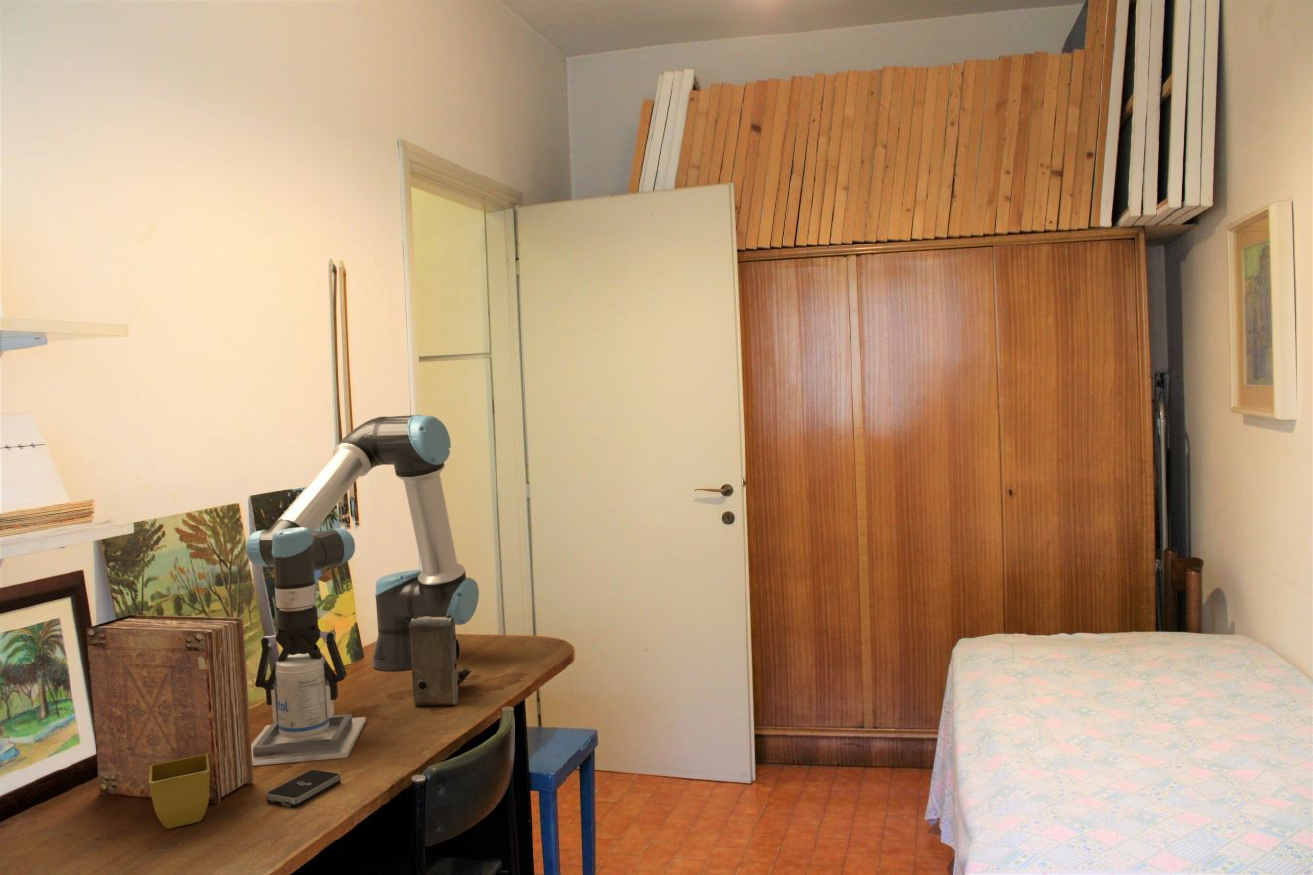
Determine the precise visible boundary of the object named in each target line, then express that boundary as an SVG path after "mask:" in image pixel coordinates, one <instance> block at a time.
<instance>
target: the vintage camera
mask: <svg viewBox="0 0 1313 875" xmlns="http://www.w3.org/2000/svg"><path fill="white" fill-rule="evenodd" d="M409 632H410V635H411V659H412V669H411V676H412V677H411V678H412V692H413V693H412V694H413V695H412V696H413V699H412V700H413V703H414V706H418V707H420V706H422V707H423V706H430V707H431V706H432V707H433V706H434V707H436V706H437V707H438V706H457V704H458V701H459V686H460V684H462V683H464V681H465V680H466V679H467V678H468V676H470V674H471V673H472V670H469V668H467V667H464V668H463V669H462V670H458V666H457V663H458V662H457V661H458V659H459V656H460V649H461V647H460V642H459V639H457V636H456V635H457V634H456V632H457V631H456V625H455V620H454V617H453V616H451V615H448V616H442V617H418V616H415V617H414V618H412V619H411V622H410V624H409Z"/></svg>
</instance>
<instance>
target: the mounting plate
mask: <svg viewBox="0 0 1313 875" xmlns="http://www.w3.org/2000/svg"><path fill="white" fill-rule="evenodd" d="M366 720H367V719H366V716H362V717H353V715H352V714H351V713H348V714H337V715H333V716H332V718H329V727H328V728H327V729H326V730H325V731H324V732H322V733H320V734H317V735H314V736H311V737H306V738H286V737H283V736H282V735H281V734H280V733H279V727H278V722H277V723H273V722H272V723H271V724H267V725H265V726H264V728H263V729H262V730H261V731H260V732H259V734H258V735H257V737H256V738H255V739H254V740H253V741H252V742H251V748H252V764H253V767H256V766H267V765H278V764H280V765H281V764H289V763H300V762H310V761H311V762H312V761H322V760H323V761H325V760H333V759H345V758H349V755H350V754H351V752H352V749H353V748H354V746H355V744H356V741H357V740H358V737H359V736H360V734H361V733H362V729H363V728H364V727H365V726H364V725H365V724H366V722H367V721H366Z"/></svg>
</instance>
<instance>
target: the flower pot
mask: <svg viewBox="0 0 1313 875" xmlns="http://www.w3.org/2000/svg"><path fill="white" fill-rule="evenodd" d="M209 783H210V767H209V758H208V754H202V755H197V756H192V757H188V758H183V759H178V760H173V761H167V762H162V763H157V764H153V765H150V773H149V786H150V791H151V796H152V799H151V800H152V805H153V809H154V812H155V814H156V817H157V819H158V820H159V822H160V823H161V824H162V826H163V827H164V828H166V829H167V830H168V829H169V830H170V829H174V828H178V827H183V826H186V825H191V824H195V823H196V824H197V823H200V822H201V821H202V820H203V819H204V816H205V814H206V811H207V809H208V805H209V804H208V801H209Z"/></svg>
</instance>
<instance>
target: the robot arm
mask: <svg viewBox="0 0 1313 875" xmlns="http://www.w3.org/2000/svg"><path fill="white" fill-rule="evenodd" d="M451 444H452V443H451V437H450V434H449V431H448V429H447V427H446V426H445V424H444V423H443V421H441V420H440V419H439V418H438V417H436V416H433V415H423V414H412V415H411V414H410V415H395V416H394V415H392V416H378V417H374V418H372V419H369V420H366V421H365V422H363V423H361V424H360V425H359V426H357V427H355V428H354V429H353V430H351V432H349V433H348V434H347V435H345V437H343V438H342V439H341V440H340V442H339V443H337V445H336V446H335V447H334V449H333V452H332V457H331V458H330V459H329V460H328V462H327V463H326V464H325V465H324V466H323V467H322V468H321V470H320V471H319V472H318V473H317V474H316V475H315V477H313V478H312V480H311V481H310V482H309V484H307V486H306V487H304V489H303V491H302V492H301V493H300V494H299V495H298V496H297V497H296V498H295V500H294V501H292V503H291V504H290V505H289V507H288V508H287V509H286V510H285V511H284V512H283V513H282V514H281V516H280V517H278V518H277V520H276V522H275V523H274V524H273V525H271V527H270V528H269V529H262V530H256V531H253V533H251V534H250V536H248V539H247V541H246V545H245V553H246V556H247V558H248V560H249V562H251V563H252V564H254V566H260V567H267V568H271V567H273V573H274V574H273V576H274V593H275V606H276V608H278V609H277V611H276V623H277V624H276V625H277V633H276V634H275V635H269V634H266V635H264V636H263V637H262V638H261V640H260V644H261V649H262V651H261V653H260V654H261V655H260V659H259V665H258V669H257V674H256V679H255V683H254V684H255V685H254V686H255V687H256V688H263V689H264V691H265V698H266V705H267V706H271V709H272V723H277V722H278V711H277V693H276V674H275V672H276V670H275V669H276V664H275V665H274V667H273V669H272V671H271V673H270V675H269V678H268V679H266V678H267V674H268V669H269V665H270V664H269V663H270V658H271V653H272V649H273V647H274V646H275V643H276V642H277V644H278V645H279V646H280V647H281V648H282V650H281V652H280V654H279V655H278V658H277V660H278V661H277V660H276V661H277V662H283V661H285V660H286V659H287V657H288V656H289V655H295V654H307V653H308V654H309V655H310V657H311V658H313V659H321V658H322V656H323V655H324V654H323V653H322V652H321V649H320V647H319V646H318V644H317V643H318V642H319V640H320V639H322V640H323V643H324V644H326V648H327V651H328V653H329V657H330V659H331V662H332V665H333V668H334V670H333V668H332V667H331V665H330V664H329V663H328V661H327V659H326V658H325V660H326V662H325V663H323V665H324V675H325V678H326V679H327V684H326V686H325V689H326V705H327V718H332V716H334V714H335V707H334V701H335V700H337V699H338V697H339V688H338V687H339V686H338V683H339V682H341V681H344V679H346V677H347V675H348V673H347V671H346V668H345V665H344V662H343V658H342V656H341V653H340V650H339V648H338V644H337V642H336V636H337V635H336V631H335V630H333V629H332V630H330V631H322V630H320V627H319V619H318V618H319V617H318V615H319V614H318V607H317V606H316V605H315V604H316V603H317V600H318V599H317V589H316V588H317V585H316V574H315V573H316V572H318V571H321V570H326V569H330V568H332V567H338V566H340V565H342V564H344V563H346V562H349V561H350V560H351V559H352V558H353V557H354V554H355V551H356V545H355V544H356V543H355V539H354V537H353V535H352V534H351V533H350V532H349V531H348V530H347V529H345V528H339V527H338V528H330V529H327V530H317V528H318V527H319V526H321V524H322V523H323V521H324V520H325V519H326V517H327V516H328V515H329V514H330V513H331V512H332V511H333V509H334V508H335V507H336V505H338V503H339V502H340V501H341V500H342V498H343V497H344V495H346V493H348V491H349V490H350V488H351V487H353V485H354V484H355V483H356V481H357V480H358V479H359V477H365V476H366V475H367V474H369V472H370V471H371V470H372V469H373V468H375V467H378V466H382V465H383V466H385V465H387V466H389V465H390V466H391V465H392V466H394V471H395V472H394V473H395V476H396V477H397V478H399V479H400V480H401V481H403V484H404V487H405V488H404V489H405V493H406V498H407V501H408V507H409V513H410V516H411V521H412V526H413V530H414V531H413V532H414V536H415V540H416V541H415V542H416V545H417V550H418V556H419V559H420V564H421V569H422V570H420V569H411V570H406V571H400V572H396V573H395V572H394V573H390V574H387V575H384V576H381V577H379V578H378V579H377V580H376V582H375V594H374V596H375V605H376V606H375V607H376V617H377V618H376V620H377V639H376V643H375V645H374V651H373V653H372V654H373V655H372V658H371V659H372V667H373V668H374V669H376V670H379V671H389V672H391V671H394V672H395V671H405V670H412V659H411V635H410V632H409V624H410V622H411V619H412V618H414V617H415V616H418V617H442V616H448V615H451V616H453V617H454V620H455V626H461V625H466V624H467V623H468V622H469V621H470V620H471V619H472V618H473V616H474V614H475V612H476V610H477V607H478V604H479V598H480V597H479V596H480V589H479V585H478V583H477V581H476V580H475V579H473V578H472V577H467V574H466V570H465V569H466V568H465V567H464V565H462V564H460V563H459V562H458V560H457V556H456V550H455V545H454V540H453V534H452V530H451V526H450V525H451V524H450V520H449V519H450V518H449V514H448V511H447V510H448V509H447V505H446V499H445V493H444V489H443V484H442V480H441V479H442V478H441V473H442V471H443V470H444V468H445V462H446V461H447V460H448V459H449V456H450V454H451V451H450V449H451V447H452V446H451ZM322 654H323V655H322Z"/></svg>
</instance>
